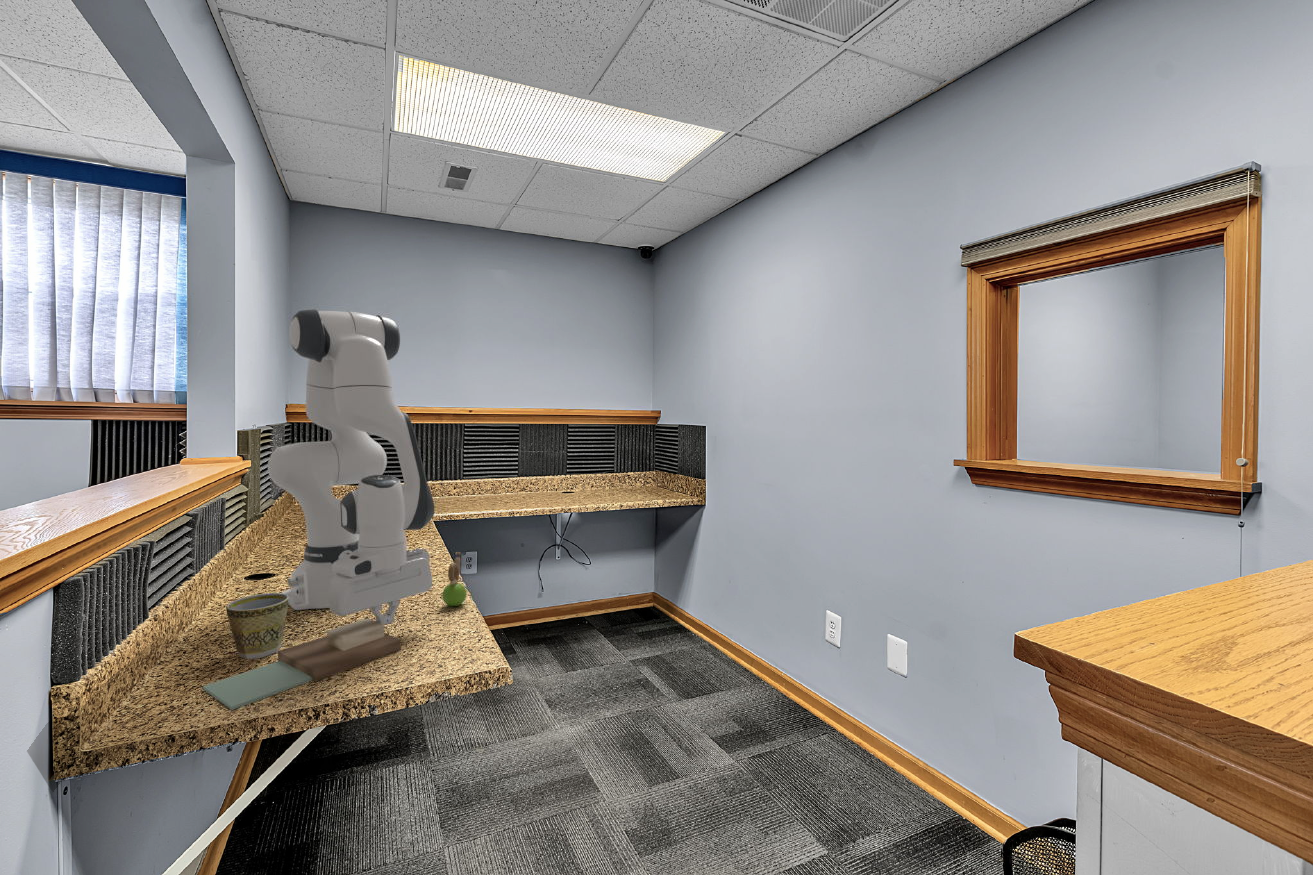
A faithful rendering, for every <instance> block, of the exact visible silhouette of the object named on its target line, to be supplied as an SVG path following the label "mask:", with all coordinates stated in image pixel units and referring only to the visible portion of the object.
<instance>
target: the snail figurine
mask: <svg viewBox="0 0 1313 875" xmlns="http://www.w3.org/2000/svg"><path fill="white" fill-rule="evenodd" d="M461 554H462V553H461V552H458V551H456V552H455V555H456V557H455V559H454V562H451V563H450V565H449V566H448V571H447V575H448V576H447V577H448V580H449V581H450V582H449V584H447V585H446V586H445V588H444V589H443V591H442V595H441V596H442V600H443V602H444V603H445V604H446V605H447V606H449V607H457V606H460V605H462V604H463V603H464V602H465V600H466V598H467V589H466V587H465V586H464V585H463V584H462V583H461V582H460V583H459V582H458V581H459V579H460V573H461V558H460V557H461V556H460V555H461Z"/></svg>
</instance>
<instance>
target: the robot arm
mask: <svg viewBox="0 0 1313 875" xmlns="http://www.w3.org/2000/svg"><path fill="white" fill-rule="evenodd" d="M288 334H289V336H288V337H289V340H290V343H291V346H292V349H293V350H294V351H295V352H296V353H297V354H298V355H299V356H300V357H303V358H306V359H309V360H308V364H307V369H306V370H307V372H306V383H305V384H306V386H305V387H306V388H305V389H306V391H305V414H306V416H307V418H308V419H309V420H310V422H312V423H313V424H315V425H316V426H318V427H320V428H323V429H326V430H328V431H330V432H331V440H327V441H306V442H304V441H303V442H302V441H300V442H297V443H295V442H294V443H289V444H286V445H282V446H278V447H277V448H275V449H274V450H273V452H272V453H271V455H270V456H269V459H268V461H267V472H268V475H269V477H270V479H271V480H272V482H273V483H274V484H275V485H276V486H278V487H279V488H280V489H282V490H284V491H286V492H287V493H289V494H290V495H291V496H293V497H294V499H295V500H296V501H297V502H298V504H299V505H300V507H301V509H302V512H303V515H304V520H305V528H306V529H305V530H306V540H307V541H306V542H307V544H305V545H303V546H304V547H305V548H304V549H303V550H304V552H303V553H304V554H303V560H302V562H301V563H300V564H299V565H298V566H297V567H296V568H295V570H294V571H293V572H292V573H291V577H288V579H287V584H288V587H289V588H288V589H287V590H284V591H282V592H281V594H286V595H288V597H289V600H288V606H290V607H291V608H292V609H293V610H294V611H302V610H309V609H313V610H314V609H329V610H330V612H332V613H333V614H334V615H337V616H339V617H345V616H348V615H352V614H355V613H358V612H362V611H365V610H369V611H370V612H371V613H372V615H373V616H374V617H375V621H376V622H379V623H382V624H384V626H386V625H389V624H392V623H394V622H395V614H396V613H397V610H398V608H399V606H400V600H402V599H405V598H408V597H409V598H410V597H412V596H416V595H419V594H422V593H426V592H429V591H430V590H431V589H432V586H433V576H432V571H431V569H432V568H431V565H430V563H431V562H430V561H431V560H430V553H429V551H428V550H427V549H424V548H423V547H420V548H419V547H417V548H416V549H409V550H407V537H406V534H405V531H414V530H415V531H417V530H420V531H421V530H422V529H423V528H425V527H426V526H427V525H428V523H429V522H431V520H432V519H433V518H434V517H435V516H434V515H435V501H434V499H433V495H432V492H431V489H430V486H429V483H428V481H427V476H426V473H425V468H424V463H423V461H422V456H421V451H420V448H419V444H418V440H417V436H416V433H415V429H414V426H413V423H412V420H411V418H410V417H409V414H407V413H406V412H404V411H402V410H400V408H399V407H398V405H397V403H396V401H395V399H394V396H393V390H392V379H391V371H390V366H389V364H390V363H389V361H390V360H392V359H393V358H394V357H395V356H396V355H397V354H398V353H399V349H400V346H401V345H400V344H401V333H400V330H399V327H398V325H397V324H396V322H395V321H394V319H391V318H388V317H386V316H382V315H379V314H378V315H373V314H372V315H371V314H369V313H363V312H356V311H350V310H347V311H341V310H339V311H338V310H317V309H303V310H299V311H297V312H296V313H295V314H294V316H292V319H291V323H290V325H289V330H288ZM369 434H370V435H374V436H377V437H380V438H383V439H385V441H386V440H387V441H388V442H389V443H390V444H392V445H393V447H394V449H395V451H396V454H397V458H398V462H399V465H400V466H399V467H400V470H401V473H402V477H403V484H402V483H401V480H400V479H399V478H397V477H396V476H394V475H388V474H387V475H386V474H384V473H385V470H386V468H387V464H388V458H387V453H386V451H385V449H384V448H383V447H382V446H381V444H380V443H379V442H377V441H376V440H374V439H373V438H372V437H371V436H370V435H369ZM354 484H355V485H356V484H358V486H357V489H354V490H353V491H349V492H348V493H347V494H345V496H344V497H343V498H342V499H340V498H337V497H334V495H333V492H332V487H335V486H346V485H354ZM385 604H387V605H388V607H387V610H386V612H385V613H383V614H382V612H381V611H383V605H385Z"/></svg>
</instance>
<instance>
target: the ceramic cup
mask: <svg viewBox="0 0 1313 875" xmlns="http://www.w3.org/2000/svg"><path fill="white" fill-rule="evenodd" d="M281 593H282V592H281ZM281 593H280V592H279V593H278V592H276V593H275V592H271V593H270V592H269V593H261V594H260V593H259V594H255V595H254V594H253V595H249V596H245V597H241V598H238V599H236V600H233V601H231V602H229V603H228V604H227V605H226V606H225V610H226V616H227V621H228V622H229V626H230V629H231V632H232V635H233V636H232V637H233V639H234V643H235V647H236V650H237V653H238V654H237V655H238V656H239V657H240V658H243V659H245V660H253V659H254V660H255V659H262V658H264V657H267V656H270V655H274V654H275V653H278V651H280V648H281V646H282V644H283V638H284V632H285V625H286V624H285V623H286V618H287V613H288V608H289V607H288V606H289V604H288V600H289V597H288V595H286V594H281Z"/></svg>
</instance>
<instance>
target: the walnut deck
mask: <svg viewBox="0 0 1313 875" xmlns="http://www.w3.org/2000/svg"><path fill="white" fill-rule="evenodd" d="M401 650H402V639H401V638H398V637H396V636H393V635H389V634H387V633H385V632H384V637H382V638H379V639H377V640H374V641H371V642H368V643H365V644H362V645H359V646H356V647H353V648H350V649H348V650H345V651H343V650H341V649H338V648H336V647H334V646H332V645H330V644H327V635H326V636H322V637H318V638H315V639H312V640H309V641H306V642H303V643H299V644H297V645H294V646H290V647H287V648H284V649H281V650H278V651H277V662H278V661H283V662H284V663H286V664H288V665H290V666H292V667H294V668H296V669H297V670H299V671H301V672H303V673H305V674H307V675H309V676H310V677H312V681H313V682H318V681H321V680H323V679H326V678H329V677H331V676H334V675H337V674H340V673H342V672H345V671H348V670H351V669H354V668H355V667H358V666H361V665H363V664H367V663H369V662H372V661H375V660H377V659H380V658H382V657H385V656H388V655H391V654H393V653H395V652H398V651H401Z"/></svg>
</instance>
